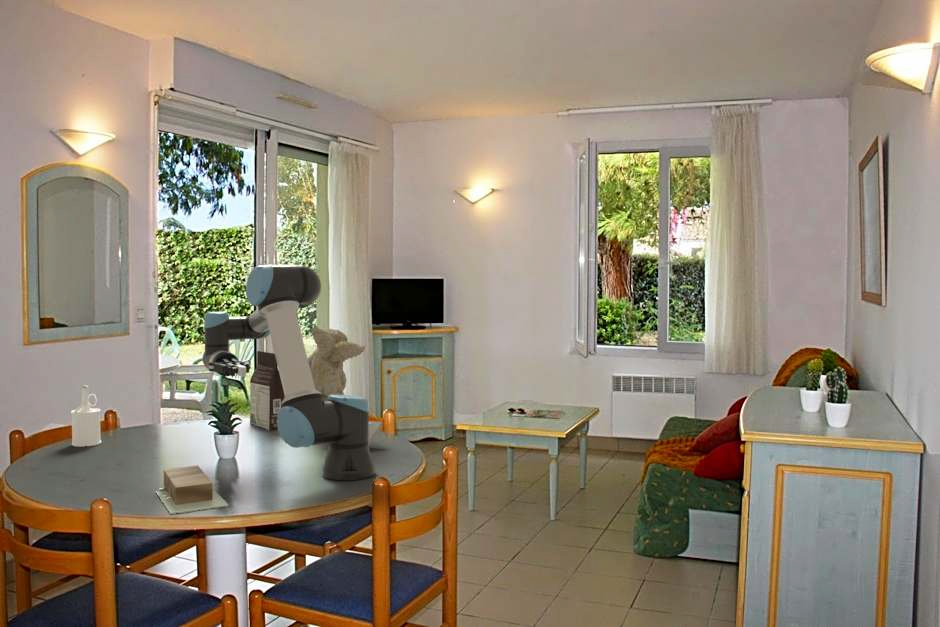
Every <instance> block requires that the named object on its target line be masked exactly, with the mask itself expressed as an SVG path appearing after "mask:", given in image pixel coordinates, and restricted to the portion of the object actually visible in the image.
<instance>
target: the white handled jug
mask: <svg viewBox="0 0 940 627" xmlns="http://www.w3.org/2000/svg"><path fill="white" fill-rule="evenodd" d="M81 388H82V389H81V402H80V405H79V406H77V407H76V409H73V410H71V411H70V414H71V438H72V439H71V440H72V442H71V446H73V447H76V448H77V447H79V448H86V447H85V446H87V447H93V446H97V445H101V444H102V440H101V439H102V438H101V409H100V408H99V407H98V408H97V407H95V408H94V406H96V405H97V403H98V397H97V396H96V394H95V393H90V394H89V385H82V387H81ZM91 396H93V397H94V399H95V403H94V405H93V404H91V402H90V400H91V399H90V398H91Z"/></svg>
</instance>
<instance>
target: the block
mask: <svg viewBox="0 0 940 627" xmlns="http://www.w3.org/2000/svg"><path fill="white" fill-rule="evenodd" d="M163 486H164V487H163V488H166V490H167V491H168V493H169V494H170V496H171V498H172V499H173V501H174V502H175V504H176V505H179V504H187V503H194V502H201V501H209V500H213V493H212V488H213V482H212V481H211V479H210V478H209V477H208V475H207V474H206V473H205V472H204V471H203V470H202V469H201V467H200V466H199V465H198V464H197V465H190V466H181V467H173V468H163Z"/></svg>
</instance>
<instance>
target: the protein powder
mask: <svg viewBox="0 0 940 627" xmlns="http://www.w3.org/2000/svg"><path fill="white" fill-rule="evenodd" d="M256 361H257V362H256V363H257V364H256V367H255V369H254V371H253V373H252V375H251V378H250V380H249V388H250V389H249V393H250V394H249V396H250V398H249V399H250V406H249V407H250V409H249V410H250V412H249V413H250V414H249V415H250V416H249V424H250V425H253V424H254V425H253V426H257V427H260V428H263V429H265V430H267V431H273V430H272V429H275V430H278V427H277V420H278V418H277V415H278V412H279V410H280V409H282V406H281V403H282V401H283V400H284V398H285V394H284V390H283V386H282V382H281V378H280V374H279V370H278V365H277V361H276V357H275V353H274V352H267V351H261V350H257V352H256Z"/></svg>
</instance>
